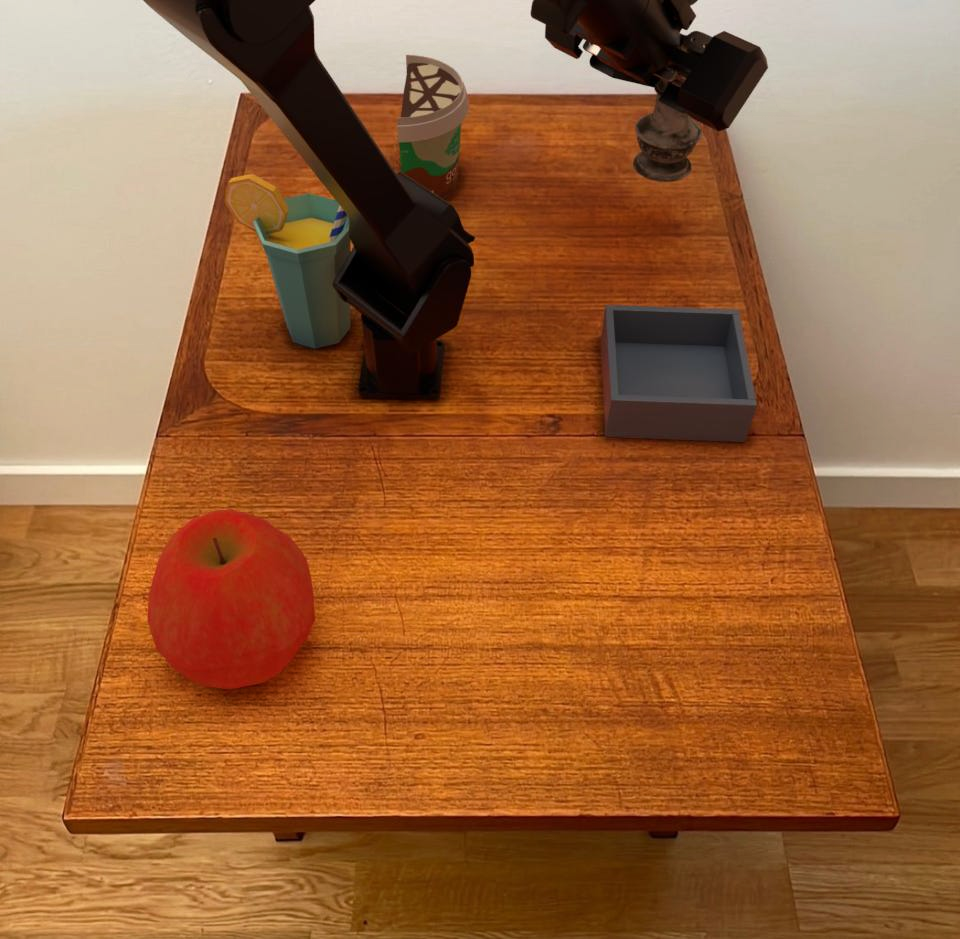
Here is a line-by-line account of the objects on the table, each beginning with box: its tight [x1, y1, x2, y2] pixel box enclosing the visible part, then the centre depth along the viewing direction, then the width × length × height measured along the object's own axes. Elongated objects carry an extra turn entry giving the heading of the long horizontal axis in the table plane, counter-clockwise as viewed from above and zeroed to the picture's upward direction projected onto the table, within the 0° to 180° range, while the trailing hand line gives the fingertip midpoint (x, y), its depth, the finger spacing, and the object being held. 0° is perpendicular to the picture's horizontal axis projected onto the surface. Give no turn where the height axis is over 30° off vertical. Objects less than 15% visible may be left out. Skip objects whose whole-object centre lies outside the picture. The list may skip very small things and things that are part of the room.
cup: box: [223, 173, 352, 350], centre depth 78 cm, size 14×8×15 cm, turn 90°
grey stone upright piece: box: [632, 47, 703, 183], centre depth 85 cm, size 6×6×12 cm
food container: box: [396, 54, 470, 200], centre depth 94 cm, size 12×6×10 cm, turn 179°
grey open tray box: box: [599, 304, 758, 443], centre depth 78 cm, size 11×11×4 cm
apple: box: [147, 508, 316, 690], centre depth 61 cm, size 10×10×10 cm
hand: (684, 92), depth 86 cm, fingers closed on grey stone upright piece, 3 cm apart
